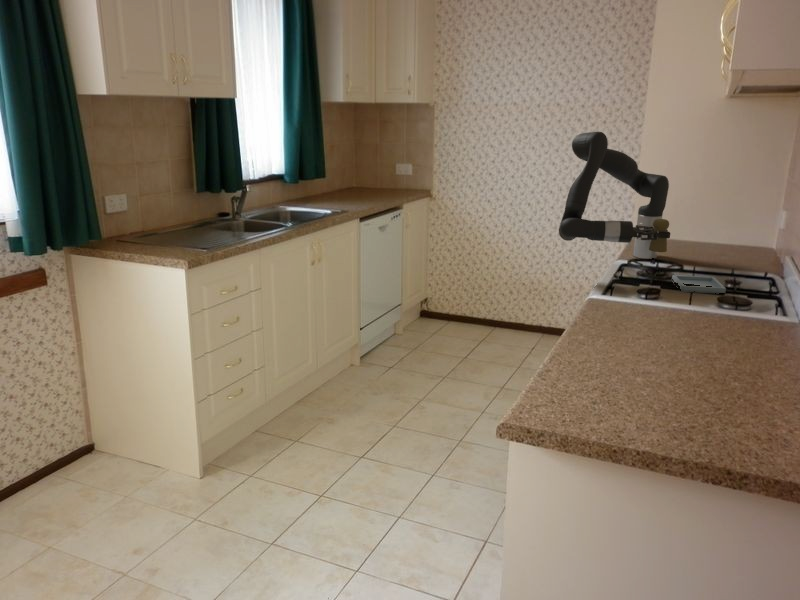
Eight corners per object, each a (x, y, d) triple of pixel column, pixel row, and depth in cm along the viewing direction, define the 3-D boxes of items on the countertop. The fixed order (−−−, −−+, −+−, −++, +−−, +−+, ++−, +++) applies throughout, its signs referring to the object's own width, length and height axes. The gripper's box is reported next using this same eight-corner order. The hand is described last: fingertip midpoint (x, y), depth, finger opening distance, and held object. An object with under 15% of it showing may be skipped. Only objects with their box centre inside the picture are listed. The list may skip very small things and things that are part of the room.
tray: (671, 280, 235) (672, 275, 235) (713, 282, 233) (713, 277, 233) (681, 291, 222) (681, 286, 222) (724, 294, 220) (725, 288, 219)
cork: (669, 252, 227) (673, 221, 224) (651, 252, 227) (656, 220, 224) (663, 248, 233) (667, 217, 229) (646, 247, 233) (650, 217, 230)
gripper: (621, 225, 222) (674, 227, 220) (615, 217, 236) (665, 219, 233) (619, 246, 225) (671, 249, 222) (613, 237, 238) (662, 239, 235)
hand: (668, 233), depth 228 cm, fingers closed on cork, 3 cm apart
